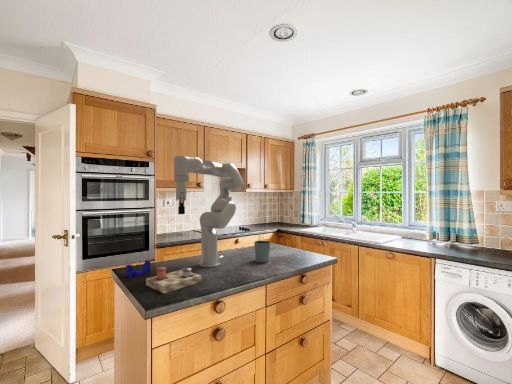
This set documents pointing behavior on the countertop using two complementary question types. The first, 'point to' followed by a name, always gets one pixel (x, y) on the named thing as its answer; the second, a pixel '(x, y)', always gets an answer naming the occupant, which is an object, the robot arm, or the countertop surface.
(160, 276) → the red plug
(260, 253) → the drinking glass
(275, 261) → the countertop surface
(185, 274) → the grey plug
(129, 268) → the cable clip
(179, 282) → the board
